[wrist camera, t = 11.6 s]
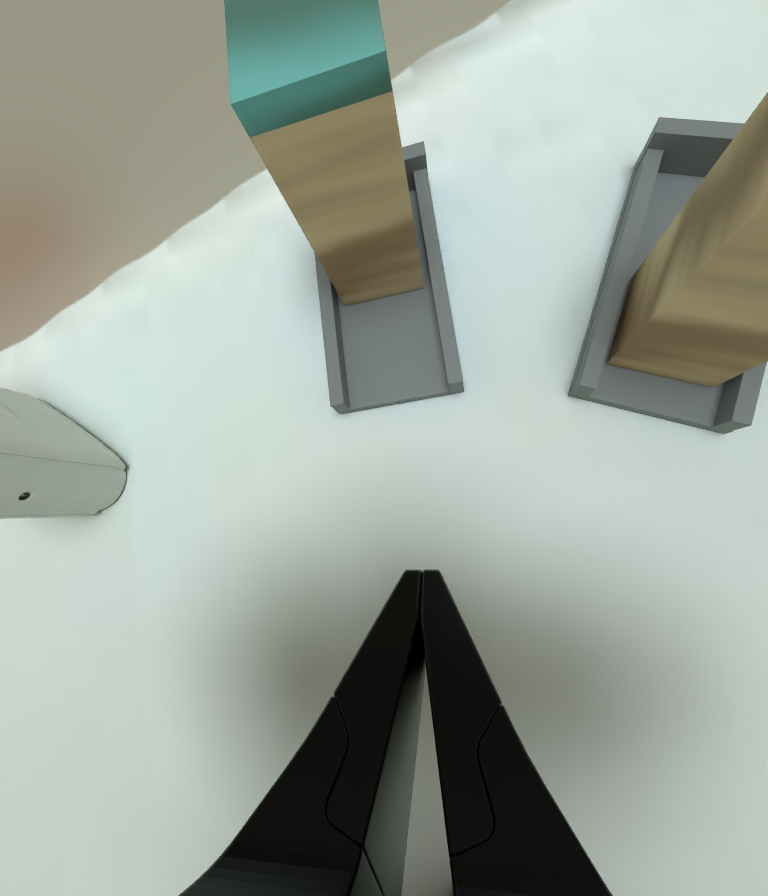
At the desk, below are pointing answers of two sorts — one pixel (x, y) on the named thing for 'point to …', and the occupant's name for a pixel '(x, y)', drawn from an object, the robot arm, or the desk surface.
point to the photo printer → (52, 463)
